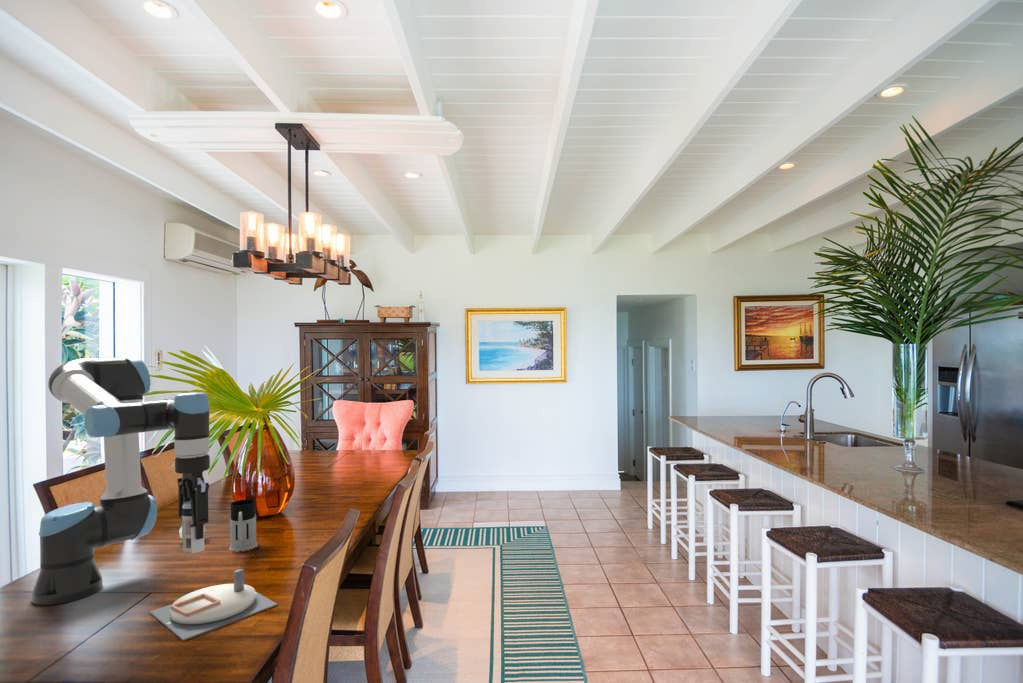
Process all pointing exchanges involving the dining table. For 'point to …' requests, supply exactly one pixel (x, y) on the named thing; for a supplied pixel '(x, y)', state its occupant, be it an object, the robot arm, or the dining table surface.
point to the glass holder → (243, 525)
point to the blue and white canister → (187, 527)
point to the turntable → (214, 602)
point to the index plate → (197, 629)
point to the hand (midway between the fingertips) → (193, 549)
